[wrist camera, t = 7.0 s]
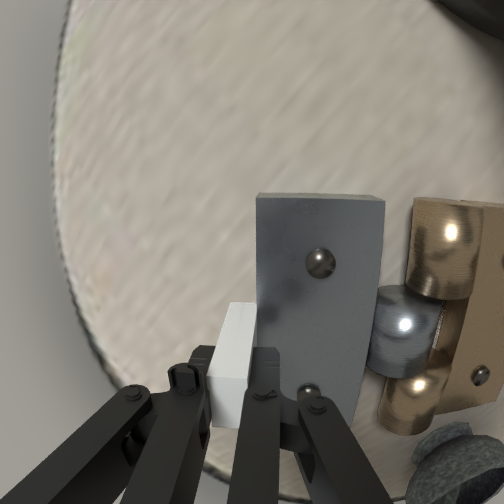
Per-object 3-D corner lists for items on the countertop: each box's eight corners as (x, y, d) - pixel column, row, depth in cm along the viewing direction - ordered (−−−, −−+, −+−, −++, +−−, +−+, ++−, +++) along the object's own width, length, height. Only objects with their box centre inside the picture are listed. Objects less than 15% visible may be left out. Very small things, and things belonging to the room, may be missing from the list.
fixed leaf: (402, 196, 16) (434, 205, 12) (524, 206, 15) (562, 217, 12) (372, 400, 20) (385, 439, 16) (482, 382, 19) (504, 412, 15)
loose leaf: (259, 192, 17) (253, 201, 13) (434, 199, 16) (470, 210, 12) (259, 403, 21) (255, 444, 17) (397, 398, 20) (413, 436, 16)
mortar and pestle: (493, 391, 19) (557, 485, 8) (478, 451, 22) (517, 533, 10) (375, 438, 21) (406, 564, 9) (379, 490, 23) (398, 586, 12)
